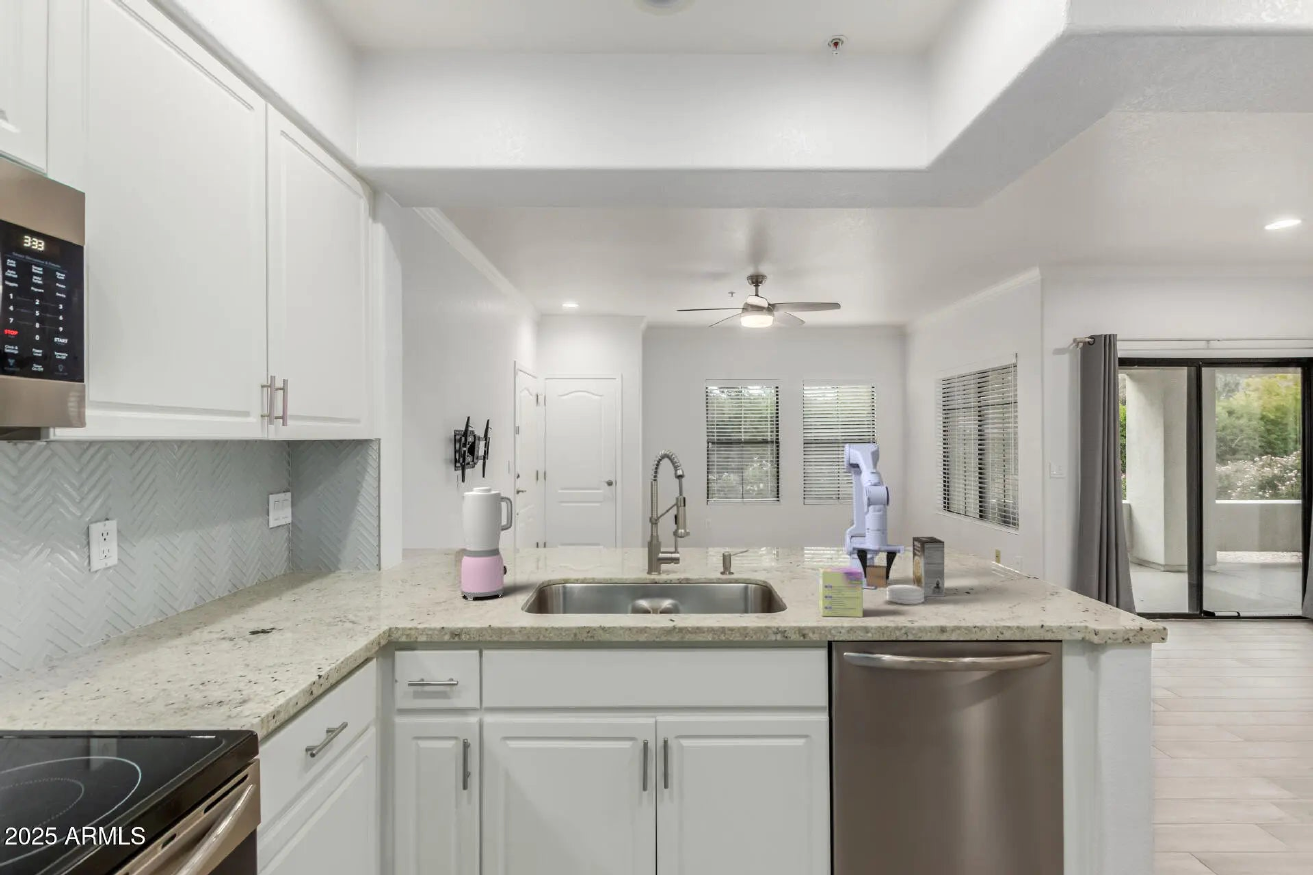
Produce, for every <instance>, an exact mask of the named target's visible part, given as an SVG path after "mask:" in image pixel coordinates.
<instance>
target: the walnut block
mask: <svg viewBox="0 0 1313 875" xmlns="http://www.w3.org/2000/svg"><path fill="white" fill-rule="evenodd" d="M886 569H887V565H879V564H878V565H877V564H874V565H868V566H867V568H866V583H867V586H868V587H875V588H883V589H884V588H886V589H887V587H888V586H887V585H888V580H886Z"/></svg>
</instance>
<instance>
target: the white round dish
mask: <svg viewBox="0 0 1313 875" xmlns="http://www.w3.org/2000/svg"><path fill="white" fill-rule="evenodd" d="M886 599H887V601H889V600H890V601H889V602H891V601H892V603H895V602H897V603H896V604H901V603H902V604H903V605H919V603H920V604H922V602H923V603H924V602H925V597H924V590H923V589H922V588H919V587H916V586H913V585H910V584H909V585H908V584H893V585H889V586H886Z"/></svg>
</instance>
